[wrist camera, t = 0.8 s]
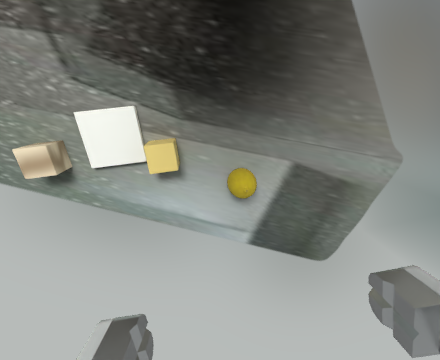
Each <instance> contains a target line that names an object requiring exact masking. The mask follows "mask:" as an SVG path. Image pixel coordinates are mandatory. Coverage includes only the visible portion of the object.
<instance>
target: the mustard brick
mask: <svg viewBox="0 0 440 360" xmlns="http://www.w3.org/2000/svg"><path fill="white" fill-rule="evenodd" d="M144 150H145V155H146V159H147V163H148V168H149V172H150V174H154V173H162V172H169V171H177V170H178V169H179V164H180V161H179V156H178V150H177V144H176V139H175V138H172V139H163V140H155V141H149V142H148V143H147V144H145V145H144Z"/></svg>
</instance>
